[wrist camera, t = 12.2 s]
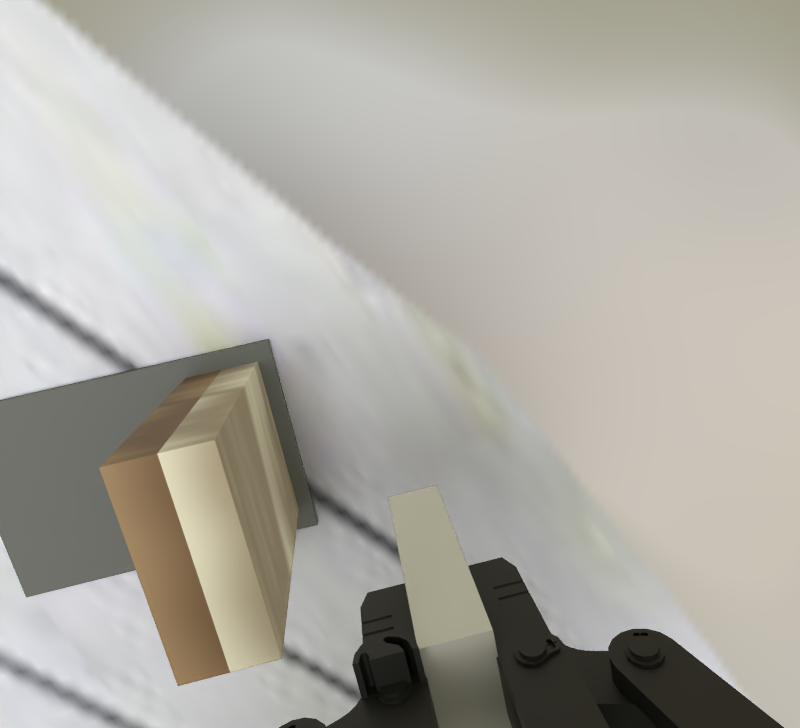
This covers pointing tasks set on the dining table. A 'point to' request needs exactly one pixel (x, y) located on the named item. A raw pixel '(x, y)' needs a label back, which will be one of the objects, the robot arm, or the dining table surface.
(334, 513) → the dining table surface
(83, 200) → the dining table surface
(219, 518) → the slab
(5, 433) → the mat
